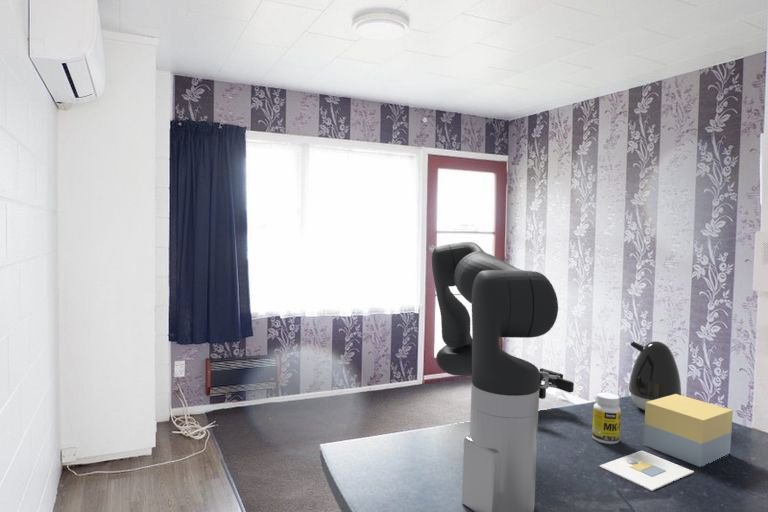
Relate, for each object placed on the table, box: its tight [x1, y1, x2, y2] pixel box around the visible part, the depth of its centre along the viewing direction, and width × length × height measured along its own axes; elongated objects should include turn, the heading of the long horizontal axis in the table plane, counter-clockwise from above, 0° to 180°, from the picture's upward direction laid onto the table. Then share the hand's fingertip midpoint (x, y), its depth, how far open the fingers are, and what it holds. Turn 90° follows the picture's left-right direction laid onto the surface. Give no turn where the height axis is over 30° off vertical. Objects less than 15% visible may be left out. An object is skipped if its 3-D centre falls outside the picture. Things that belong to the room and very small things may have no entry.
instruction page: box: [599, 450, 695, 492], centre depth 85 cm, size 12×9×1 cm
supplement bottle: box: [591, 392, 622, 445], centre depth 97 cm, size 5×5×8 cm
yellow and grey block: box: [643, 394, 734, 468], centre depth 93 cm, size 10×10×8 cm
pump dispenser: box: [628, 341, 682, 411], centre depth 113 cm, size 10×10×15 cm
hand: (558, 390), depth 106 cm, fingers open, 8 cm apart
